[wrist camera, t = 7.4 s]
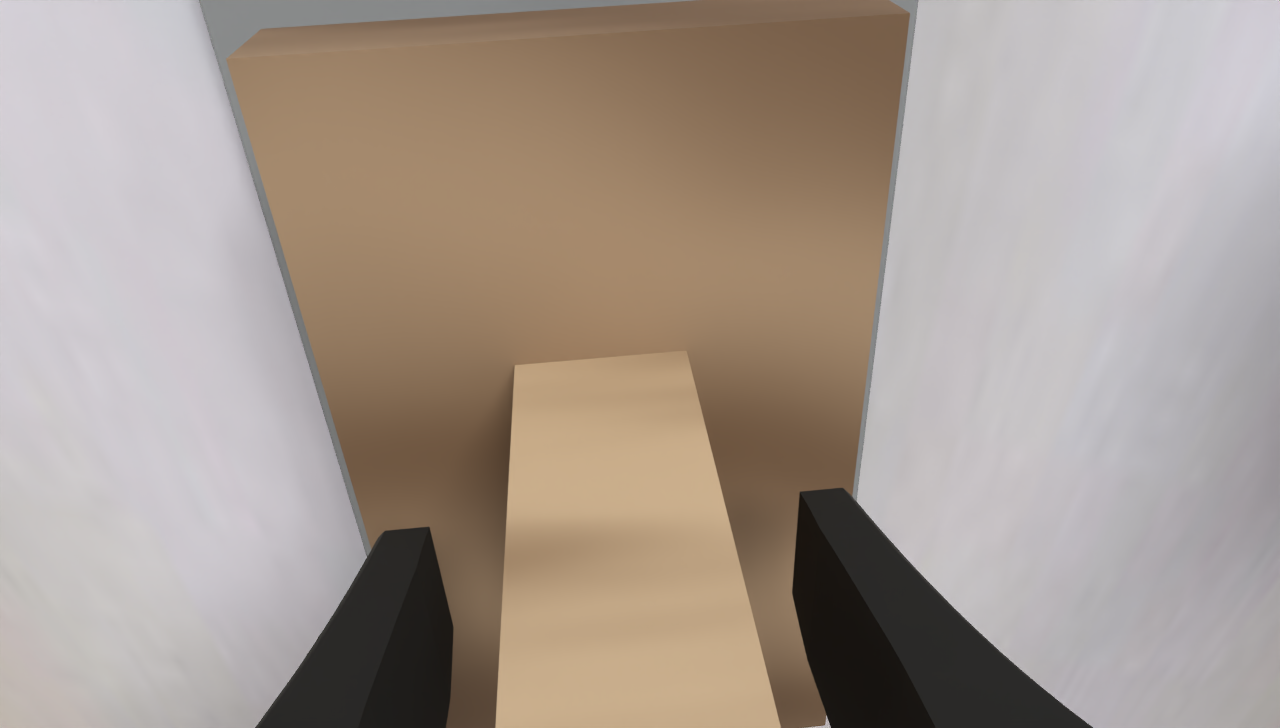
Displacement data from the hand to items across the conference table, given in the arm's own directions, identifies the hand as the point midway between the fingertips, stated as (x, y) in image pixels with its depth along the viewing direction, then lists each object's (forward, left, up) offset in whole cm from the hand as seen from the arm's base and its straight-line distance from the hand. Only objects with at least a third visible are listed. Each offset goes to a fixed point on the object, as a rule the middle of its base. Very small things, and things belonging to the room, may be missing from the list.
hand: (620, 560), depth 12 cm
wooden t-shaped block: (0, 0, -3) cm, 3 cm away
